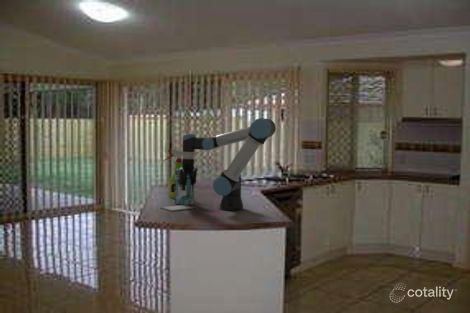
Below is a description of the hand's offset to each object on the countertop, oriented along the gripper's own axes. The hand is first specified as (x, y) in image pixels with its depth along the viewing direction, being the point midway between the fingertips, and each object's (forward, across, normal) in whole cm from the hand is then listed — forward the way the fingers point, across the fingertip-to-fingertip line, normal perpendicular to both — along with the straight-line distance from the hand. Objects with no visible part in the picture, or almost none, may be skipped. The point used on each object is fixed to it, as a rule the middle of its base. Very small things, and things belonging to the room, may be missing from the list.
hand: (187, 195), depth 321 cm
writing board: (+9, +5, -4) cm, 10 cm away
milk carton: (+9, -9, -16) cm, 20 cm away
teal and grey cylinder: (+1, 0, 0) cm, 1 cm away
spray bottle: (+9, -20, -43) cm, 48 cm away
